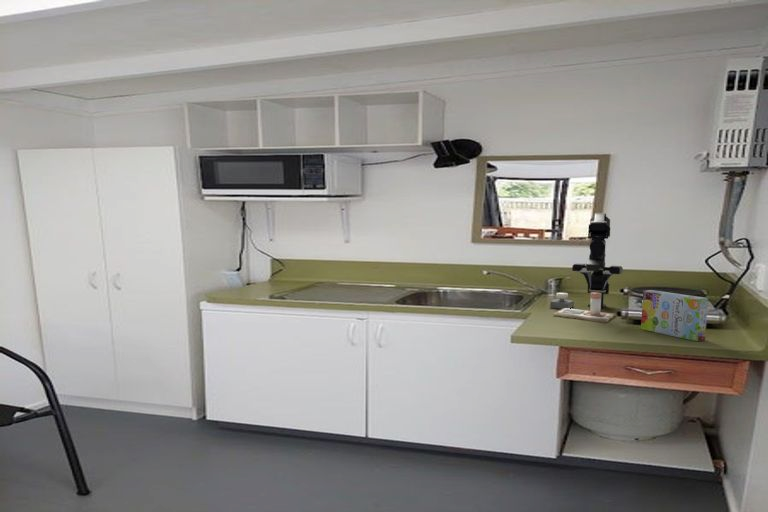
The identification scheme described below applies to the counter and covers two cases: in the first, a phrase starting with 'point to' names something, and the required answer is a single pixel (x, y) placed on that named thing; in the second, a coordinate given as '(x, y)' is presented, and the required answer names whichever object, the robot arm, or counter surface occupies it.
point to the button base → (561, 304)
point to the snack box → (674, 314)
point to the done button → (562, 296)
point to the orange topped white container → (595, 303)
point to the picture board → (584, 315)
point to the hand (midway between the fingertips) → (596, 289)
